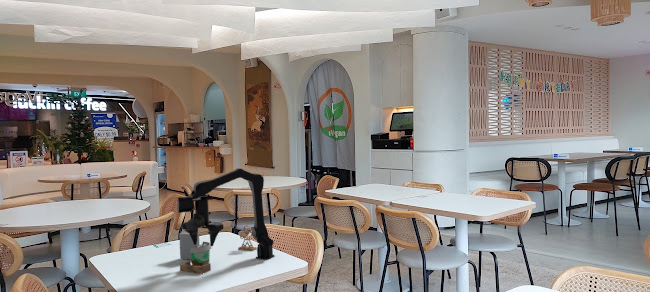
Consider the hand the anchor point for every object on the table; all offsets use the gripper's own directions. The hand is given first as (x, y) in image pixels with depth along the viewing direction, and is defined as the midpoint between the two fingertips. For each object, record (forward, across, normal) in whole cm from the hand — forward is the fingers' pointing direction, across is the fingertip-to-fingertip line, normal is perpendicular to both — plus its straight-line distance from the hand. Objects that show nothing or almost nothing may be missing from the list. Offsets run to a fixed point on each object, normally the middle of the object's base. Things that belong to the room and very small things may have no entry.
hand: (203, 245), depth 203 cm
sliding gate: (+10, -15, +8) cm, 20 cm away
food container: (+10, 0, 0) cm, 10 cm away
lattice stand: (+10, +1, +32) cm, 33 cm away
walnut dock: (+10, 0, -6) cm, 11 cm away
